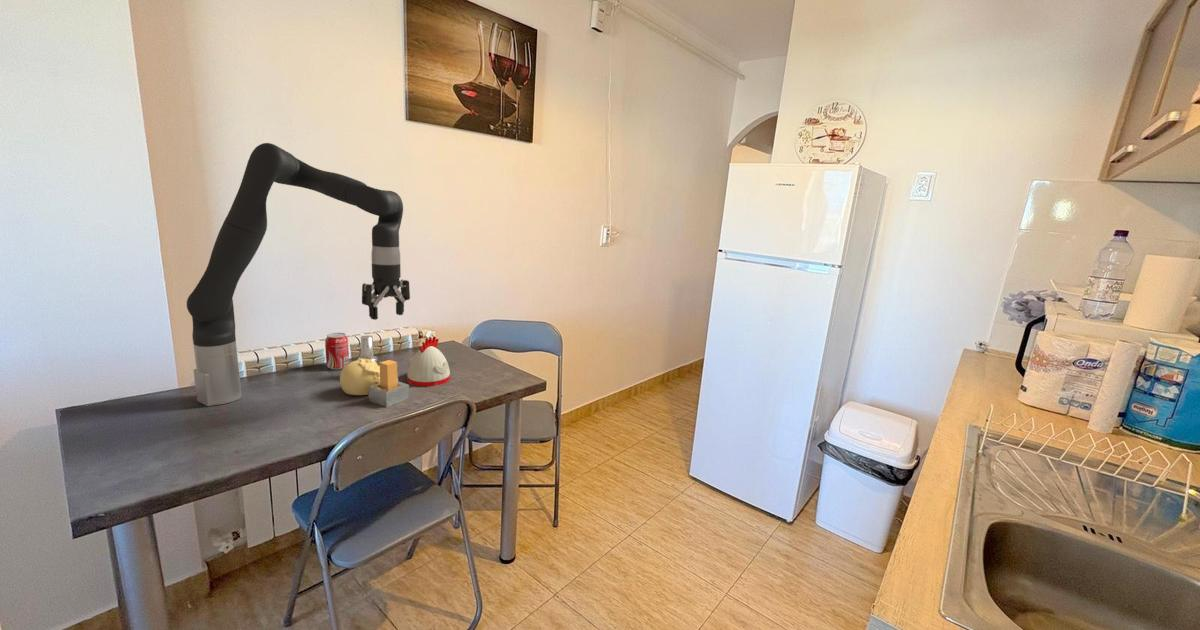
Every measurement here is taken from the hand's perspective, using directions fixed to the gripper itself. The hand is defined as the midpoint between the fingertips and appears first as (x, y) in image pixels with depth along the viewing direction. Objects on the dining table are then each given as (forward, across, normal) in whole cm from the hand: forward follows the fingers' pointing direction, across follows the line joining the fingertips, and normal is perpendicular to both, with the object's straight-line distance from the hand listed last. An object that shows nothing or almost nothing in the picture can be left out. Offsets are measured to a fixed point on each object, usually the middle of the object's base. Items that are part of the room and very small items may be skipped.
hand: (387, 316), depth 136 cm
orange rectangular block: (+26, 0, 0) cm, 26 cm away
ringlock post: (+26, +8, +21) cm, 35 cm away
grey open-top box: (+26, 0, 0) cm, 26 cm away
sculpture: (+26, -1, +11) cm, 29 cm away
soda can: (+26, +7, +36) cm, 45 cm away
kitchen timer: (+26, +19, +4) cm, 33 cm away
